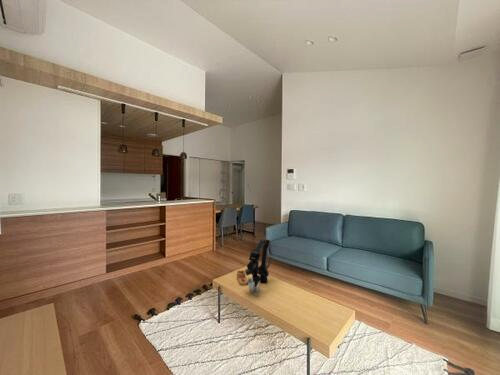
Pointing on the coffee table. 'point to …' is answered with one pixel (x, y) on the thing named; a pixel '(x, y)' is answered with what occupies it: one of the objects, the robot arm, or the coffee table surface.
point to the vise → (250, 282)
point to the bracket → (242, 278)
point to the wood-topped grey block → (252, 286)
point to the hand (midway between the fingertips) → (254, 283)
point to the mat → (254, 291)
